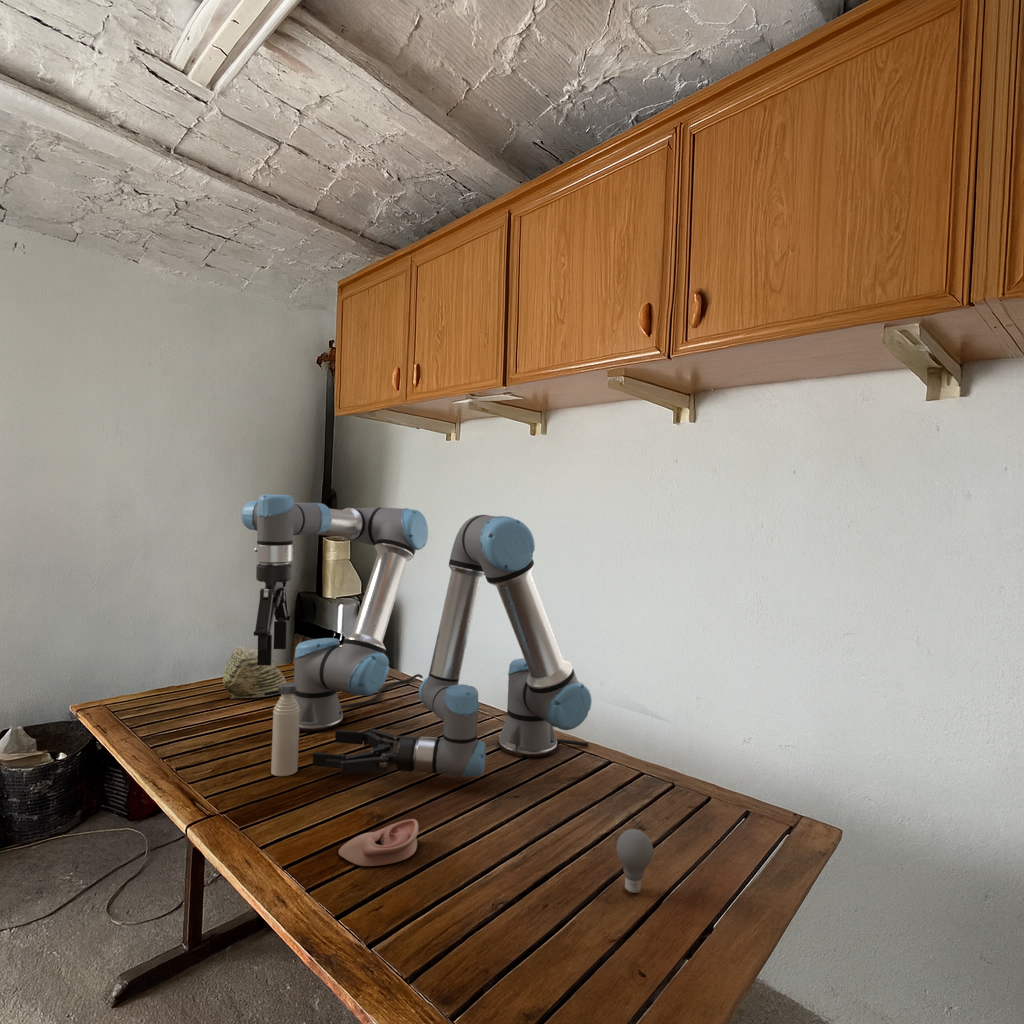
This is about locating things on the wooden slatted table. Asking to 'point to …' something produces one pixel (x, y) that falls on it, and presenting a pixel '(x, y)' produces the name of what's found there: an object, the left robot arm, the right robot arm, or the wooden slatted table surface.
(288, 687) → the cap
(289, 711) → the bottle
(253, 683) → the fossil
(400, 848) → the anatomical model
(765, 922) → the wooden slatted table surface
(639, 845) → the light bulb
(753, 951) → the wooden slatted table surface
